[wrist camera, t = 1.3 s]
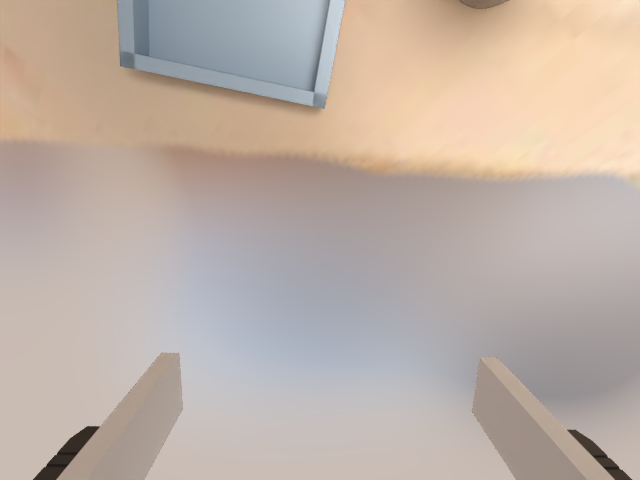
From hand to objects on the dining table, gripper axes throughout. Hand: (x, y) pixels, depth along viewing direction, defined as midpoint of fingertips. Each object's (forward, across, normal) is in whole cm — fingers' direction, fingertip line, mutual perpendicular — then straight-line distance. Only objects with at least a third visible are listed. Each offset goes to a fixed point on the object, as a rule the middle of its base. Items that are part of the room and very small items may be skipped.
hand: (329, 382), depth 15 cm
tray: (+21, -8, +24) cm, 33 cm away
